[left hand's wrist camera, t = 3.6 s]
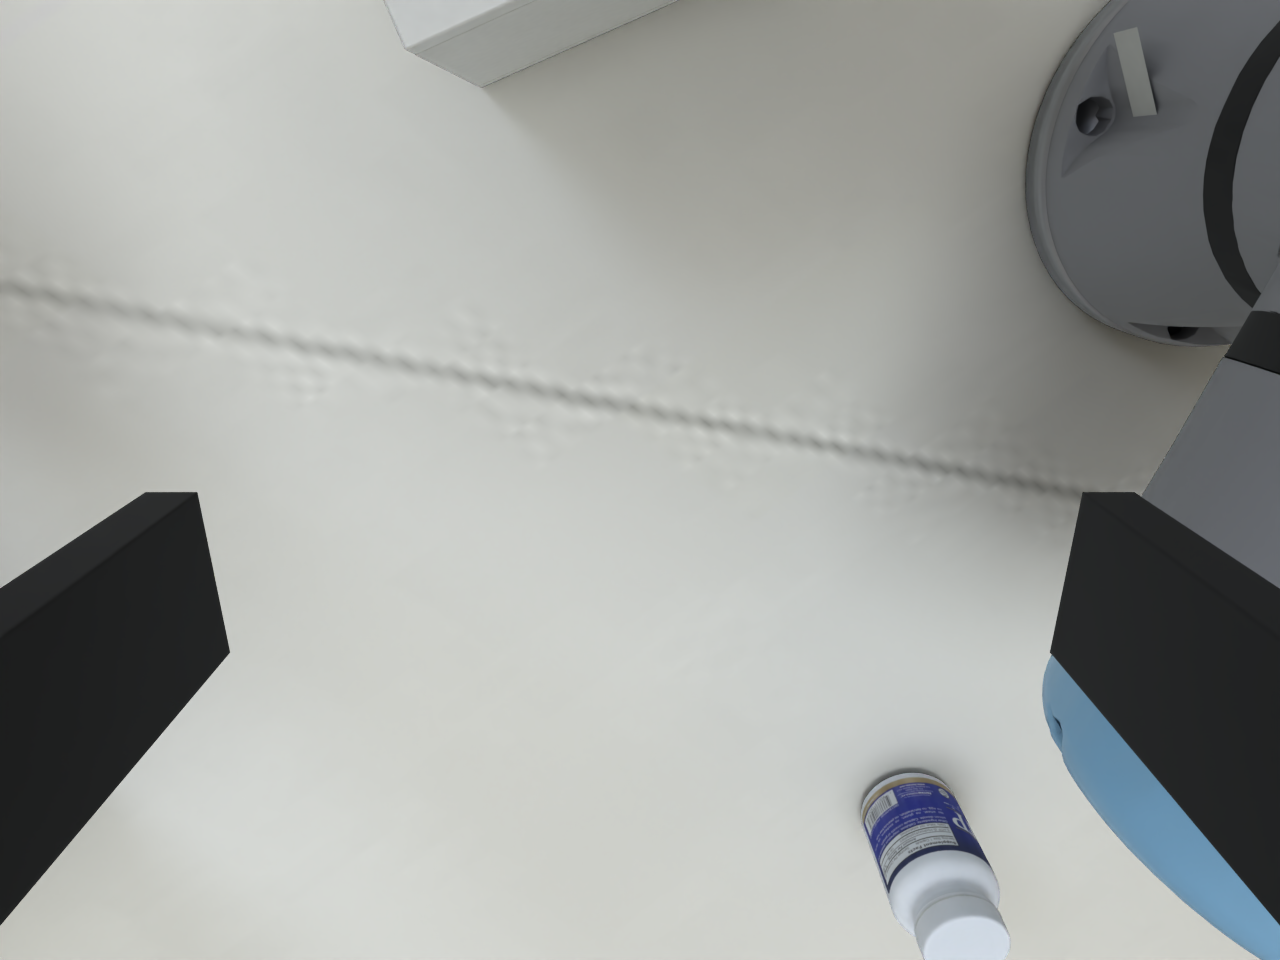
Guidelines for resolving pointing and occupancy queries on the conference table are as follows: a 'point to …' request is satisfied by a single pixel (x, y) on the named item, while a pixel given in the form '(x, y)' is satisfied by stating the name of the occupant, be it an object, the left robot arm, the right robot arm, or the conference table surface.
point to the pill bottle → (934, 869)
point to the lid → (442, 18)
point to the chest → (531, 36)
